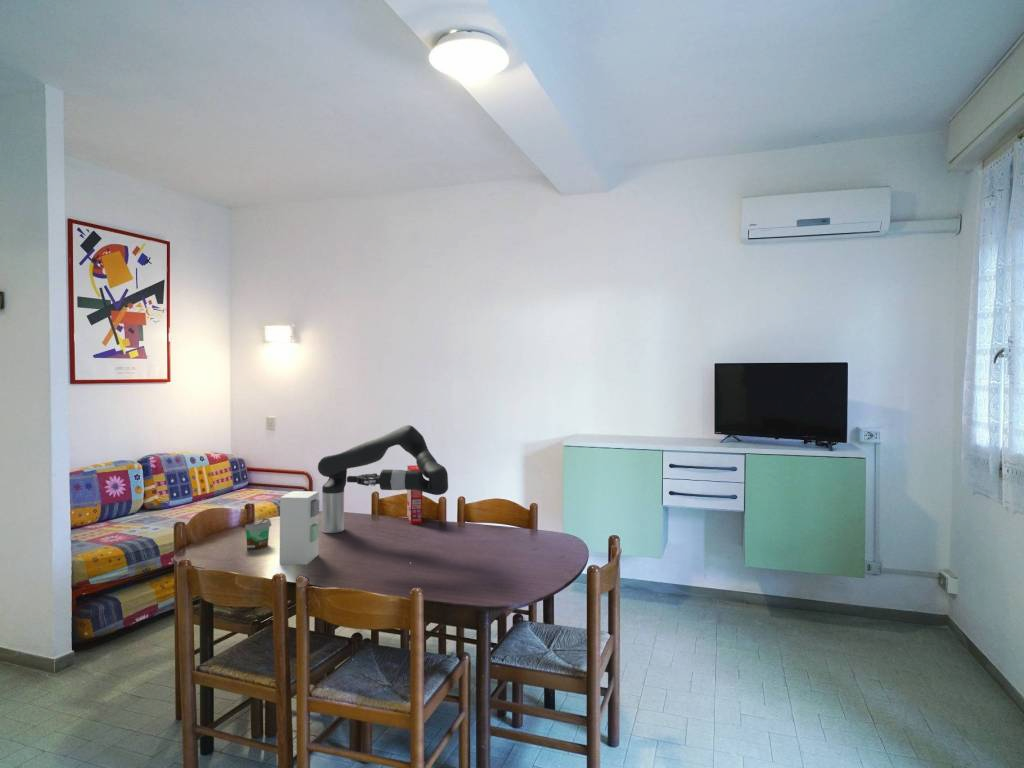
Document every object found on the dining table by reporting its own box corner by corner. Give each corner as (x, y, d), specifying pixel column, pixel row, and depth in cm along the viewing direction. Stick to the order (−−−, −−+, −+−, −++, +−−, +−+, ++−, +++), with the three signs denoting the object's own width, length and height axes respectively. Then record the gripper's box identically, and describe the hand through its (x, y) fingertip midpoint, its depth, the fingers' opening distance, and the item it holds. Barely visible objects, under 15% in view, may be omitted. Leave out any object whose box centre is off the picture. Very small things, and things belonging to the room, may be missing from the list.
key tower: (291, 554, 231) (292, 491, 230) (318, 554, 231) (318, 491, 230) (279, 564, 219) (280, 497, 218) (307, 564, 219) (307, 497, 218)
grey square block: (303, 513, 227) (303, 499, 227) (319, 513, 227) (319, 500, 227) (298, 516, 222) (298, 502, 222) (314, 516, 222) (314, 502, 222)
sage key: (302, 537, 227) (303, 523, 227) (318, 537, 227) (319, 524, 227) (298, 540, 222) (298, 527, 222) (314, 541, 222) (314, 527, 222)
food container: (258, 551, 234) (259, 525, 234) (244, 550, 235) (244, 524, 235) (277, 543, 246) (277, 518, 246) (263, 542, 247) (264, 517, 247)
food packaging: (422, 523, 283) (422, 469, 282) (410, 524, 281) (411, 470, 281) (417, 516, 297) (418, 465, 296) (406, 517, 295) (407, 465, 295)
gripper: (397, 467, 232) (352, 466, 232) (390, 472, 219) (342, 471, 219) (397, 486, 232) (352, 486, 232) (390, 493, 219) (342, 492, 219)
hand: (347, 479), depth 225 cm, fingers closed
